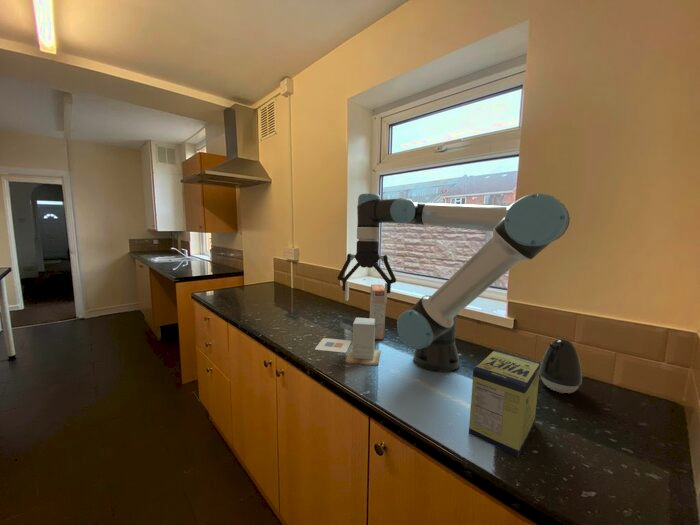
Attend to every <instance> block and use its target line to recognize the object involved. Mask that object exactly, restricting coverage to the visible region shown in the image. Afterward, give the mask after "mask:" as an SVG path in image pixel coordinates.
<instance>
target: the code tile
mask: <svg viewBox="0 0 700 525" xmlns="http://www.w3.org/2000/svg"><path fill="white" fill-rule="evenodd" d="M351 343H353V340H348V339H338V338H337V339H336V338H328V337H327V338H326V337H323V338H322V339H321V340H320V341H319V343H318V344H317V345H316V346H315V348H314V350H315V351H322V352H332V353H333V352H334V353H340V354H341V353H344V354H346V353H347V351H348V350H349V348H350V346H351Z"/></svg>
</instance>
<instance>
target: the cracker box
mask: <svg viewBox="0 0 700 525" xmlns="http://www.w3.org/2000/svg"><path fill="white" fill-rule="evenodd" d="M384 294H385V285H384V284H373V283H372V284H371V285H370V298H369V299H370V303H369V318H371V319H375V340H385V326H386V325H385V323H386V322H385V321H386V304H387V303H384Z"/></svg>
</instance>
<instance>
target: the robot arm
mask: <svg viewBox="0 0 700 525" xmlns="http://www.w3.org/2000/svg"><path fill="white" fill-rule="evenodd" d="M356 209H357V226H356V239H357V241H356V252H355V254H352V253H347V256H346V260H345V263H344V264H343V266H342V268H341V270H340V272H339V274H338V276H337V280H338V281H341V282H342V286H341V287H342V291H344V292H345V293H344V295H345V296H344V302H345V301H346V302H348V301H349V299H350V298H349V296H350V281H349V279H350V278H351V276H352V275H353V274H354V273H355V272H356V270H358V269H359V267H361V268H367V269H368V268H370V269H371V268H374V269H375V270H376V271H377V272H378V274H379V275H380V277H381V278H382V279H383V280H384V282H385V284H384V288H385V294H384V303H386V304H387V303H388V294H389V295H390V294H391V289H392V286H391V285H392V284H395V283H396V282H397V278H396V276H395V273H394V271H393V270H392V269H393V268H392V267H391V265H390V262H389V259H388V255H387V254H383V255H379V250H380V249H379V247H380V245H379V244H380V242H379V241H378V240H379V239H380V223H381V224H405V225H406V224H407V225H418V226H419V225H421V226H429V227H430V226H433V227H441V228H443V227H444V228H450V229H451V228H453V229H463V230H474V231H484V232H492V237H491V238H490V239H489V240H488V241H487V242H486V243H485V244H484V245H482V247H481V248H480V249H478V251H476V252H475V254H474V255H472V257H471V258H469V259H468V260H467V261H466V262H465V263H463V265H462V266H461V267H460V268H459V269H458V270H457V271H456V272H455V273H453V275H451V277H449V278H448V280H446V281H445V283H443V284H442V285H441V286H440V287H439V288H438V289H436V291H435V292H434V293H433V294H432V295H429V294H428V295H426V294H425V295H423V296H422V297H421V298H420V299H419V300H418V301H417V302H416V303H415V304H414V305H413V306H412V307H411V308H410V309H407V310H404V311H403V312H402V313H401V314H400V315H398V318H397V322H396V327H397V329H396V330H397V333H398V336H399V338H400V339H401V341H402V342H403V343H404V344H405V345H407V347H410V348H412V349H415V350H414V352H413V361H415V362H414V363H415V364H416V365H417V364H418V365H417V366H419V367H420V366H421V367H420V368H422V367H423V369H426V370H429V371H432V370H433V371H432V372H437V371H449V372H453V371H452V370H454V371H455V369H456V370H458V369H459V367H460V356H459V353H458V349H457V345H456V334H457V318H458V315H459V313H461V312H462V311H463V310H464V309H466V307H467V306H469V305H470V304H472V302H474V301H475V299H477V298H478V297H479V296H480V295H482V294H483V293H484V292H485V291H486V290H487V289H488V288H490V287H491V286H492V285H493V284H494V283H496V282H497V281H498V280H499V279H500V278H501V277H502V276H504V275H505V274H506V273H508V271H510V270H511V269H512V268H513V267H514V266H516V265H517V264H518V263H519V262H520V261H531V260H533V259H534V258H535V257H536V256H537V255H539V254H540V253H541V252H542V251H543V250H545V249H546V248H547V247H548V246H549V245H550V244H551V243H553V242H555V241H556V240H558V239H560V238H561V237H563V235H564V234H565V233H566V232H567V230H568V229H569V225H570V220H571V218H570V213H569V211H568V209H567V208H566V205H565V204H564V203H563V202H562V201H560V199H558V198H556V197H554V195H550V194H545V193H534V194H533V193H531V194H528V195H525V196H523V197H521V198H519V199H517V200H515V201H514V202H513V203H511V204H510V205H508V206H506V205H487V204H486V205H485V204H464V203H462V204H461V203H459V204H458V203H438V202H437V203H436V202H414V201H413V200H412V199H411V198H402V197H399V198H390V199H381V195H379V194H378V193H361V194H359V195H358V198H357V206H356ZM354 259H355V260H356V262H357V263H355V265H354V266H353V267H352V268H351V270H349V271H348V272H347V274H345V273H346V271H347V269H348V268H349V266H350V263H351V262H352V261H353V260H354ZM379 260H381V262H383V263H384V267H385V268H386V271H387V272H388V274H389V277H390V278H389V277H388V275H387V274H386V273H385V271H384V270H383V269H382V268H381V266H380V264H379V263H378V262H379ZM344 275H345V276H344ZM458 366H459V367H458Z"/></svg>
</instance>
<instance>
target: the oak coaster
mask: <svg viewBox="0 0 700 525" xmlns="http://www.w3.org/2000/svg"><path fill="white" fill-rule="evenodd" d="M381 352H382V351H381V350H379V349H374V357H373V360H369V359H357V358H353V347H351V348H350V350H349V353H348V354H347V357H346V358H345V362H346V363H349V364H351V363H352V364H358V365H359V364H360V365H368V366H379V362H380V358H381Z"/></svg>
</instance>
